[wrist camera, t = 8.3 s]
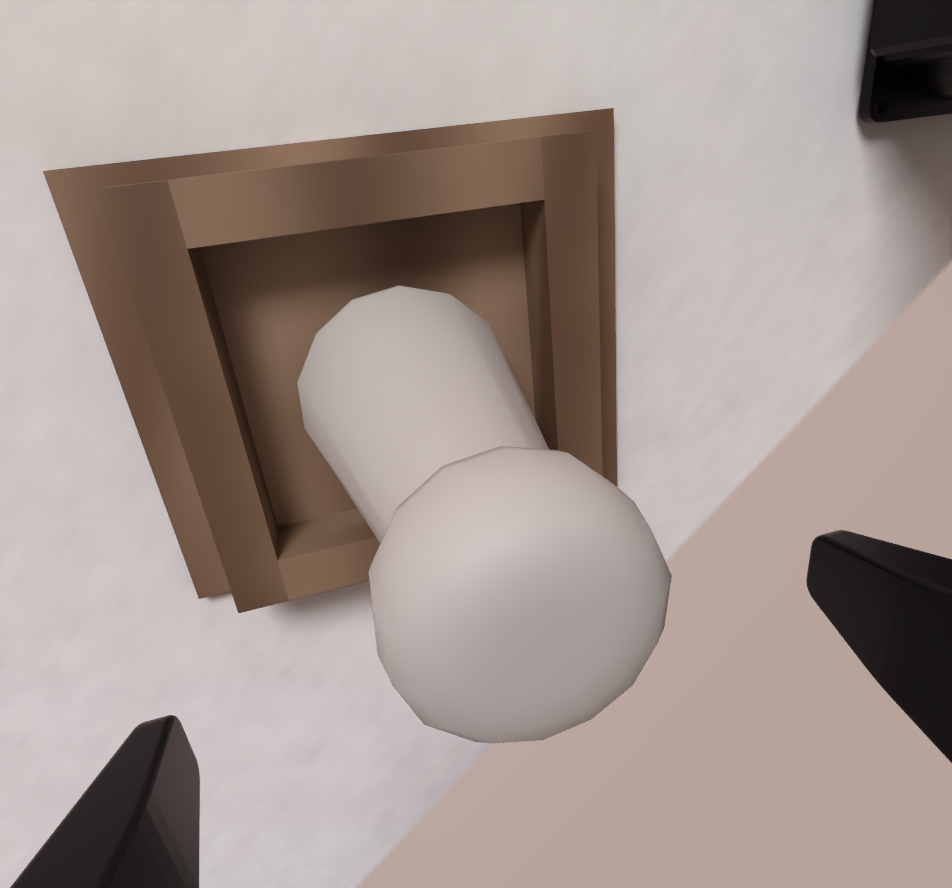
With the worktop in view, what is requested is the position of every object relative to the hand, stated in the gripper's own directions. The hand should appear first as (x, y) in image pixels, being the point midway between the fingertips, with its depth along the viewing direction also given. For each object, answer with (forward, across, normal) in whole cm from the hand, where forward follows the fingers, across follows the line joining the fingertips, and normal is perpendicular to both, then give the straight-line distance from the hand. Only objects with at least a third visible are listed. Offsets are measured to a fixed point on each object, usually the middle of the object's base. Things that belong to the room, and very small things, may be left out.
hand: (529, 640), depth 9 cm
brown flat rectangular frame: (+13, 0, 0) cm, 13 cm away
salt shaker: (+13, 0, 0) cm, 13 cm away
